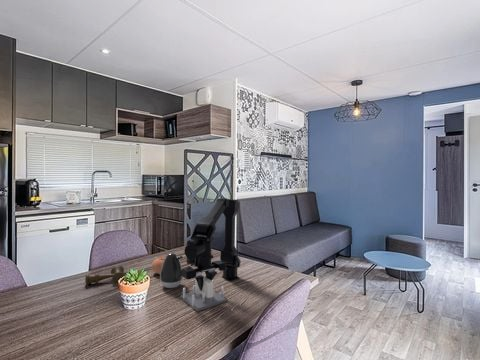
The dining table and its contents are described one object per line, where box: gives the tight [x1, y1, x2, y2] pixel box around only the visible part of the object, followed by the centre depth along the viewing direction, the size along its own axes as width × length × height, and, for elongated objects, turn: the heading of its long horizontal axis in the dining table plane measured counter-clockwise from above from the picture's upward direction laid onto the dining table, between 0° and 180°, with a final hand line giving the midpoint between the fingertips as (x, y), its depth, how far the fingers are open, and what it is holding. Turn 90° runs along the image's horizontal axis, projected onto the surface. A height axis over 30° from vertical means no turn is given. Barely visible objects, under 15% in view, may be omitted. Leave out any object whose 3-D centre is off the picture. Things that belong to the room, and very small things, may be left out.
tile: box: [194, 274, 213, 298], centre depth 110 cm, size 2×10×6 cm, turn 39°
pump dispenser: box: [159, 252, 184, 289], centre depth 122 cm, size 10×10×15 cm
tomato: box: [151, 256, 166, 275], centre depth 138 cm, size 11×11×8 cm
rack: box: [180, 279, 228, 312], centre depth 110 cm, size 15×14×5 cm
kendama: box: [84, 264, 128, 286], centre depth 126 cm, size 6×10×20 cm
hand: (203, 289), depth 110 cm, fingers closed on tile, 2 cm apart
